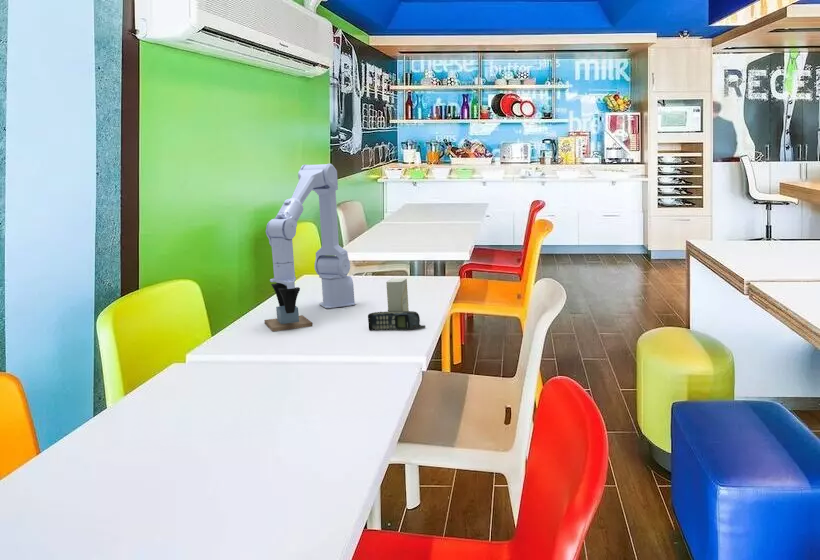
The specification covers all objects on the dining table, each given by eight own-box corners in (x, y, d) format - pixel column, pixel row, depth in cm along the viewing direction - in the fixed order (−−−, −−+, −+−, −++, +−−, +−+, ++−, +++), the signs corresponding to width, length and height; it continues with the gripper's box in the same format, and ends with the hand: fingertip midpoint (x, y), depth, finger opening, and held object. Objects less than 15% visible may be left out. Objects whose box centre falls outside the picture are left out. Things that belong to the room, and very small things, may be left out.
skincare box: (404, 326, 199) (401, 281, 196) (388, 326, 200) (385, 281, 198) (409, 321, 205) (407, 277, 202) (394, 320, 206) (391, 277, 204)
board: (302, 318, 214) (301, 305, 213) (312, 326, 204) (311, 312, 203) (264, 323, 210) (263, 310, 209) (272, 331, 200) (271, 317, 199)
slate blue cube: (294, 318, 210) (293, 304, 209) (299, 321, 205) (298, 307, 205) (277, 320, 208) (276, 306, 207) (281, 324, 203) (280, 309, 203)
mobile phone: (366, 314, 195) (423, 311, 193) (368, 311, 198) (424, 308, 196) (368, 332, 196) (424, 329, 194) (370, 329, 198) (425, 327, 197)
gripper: (263, 260, 209) (267, 307, 211) (274, 267, 196) (278, 317, 198) (288, 257, 211) (291, 304, 214) (300, 264, 198) (304, 313, 201)
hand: (287, 310), depth 206 cm, fingers open, 7 cm apart
